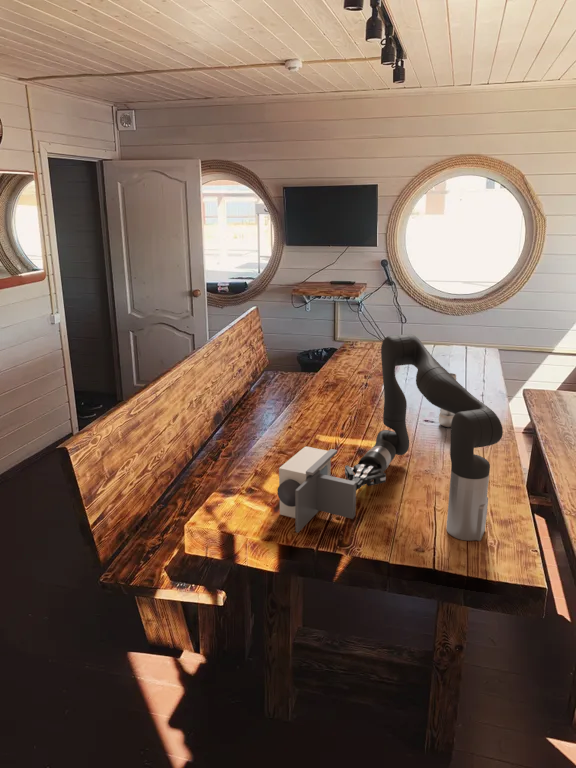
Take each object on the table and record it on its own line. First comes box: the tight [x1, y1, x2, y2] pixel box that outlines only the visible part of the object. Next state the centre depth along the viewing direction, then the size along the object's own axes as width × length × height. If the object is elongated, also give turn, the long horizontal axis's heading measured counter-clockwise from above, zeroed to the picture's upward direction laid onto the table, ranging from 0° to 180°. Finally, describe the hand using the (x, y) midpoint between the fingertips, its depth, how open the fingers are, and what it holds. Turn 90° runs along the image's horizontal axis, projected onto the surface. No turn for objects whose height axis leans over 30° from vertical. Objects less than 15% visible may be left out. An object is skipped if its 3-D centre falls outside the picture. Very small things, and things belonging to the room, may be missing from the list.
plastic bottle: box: [438, 372, 457, 428], centre depth 224 cm, size 6×7×20 cm
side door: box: [294, 470, 357, 534], centre depth 158 cm, size 11×13×12 cm
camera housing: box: [276, 446, 338, 519], centre depth 169 cm, size 10×18×15 cm, turn 152°
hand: (353, 486), depth 167 cm, fingers closed
